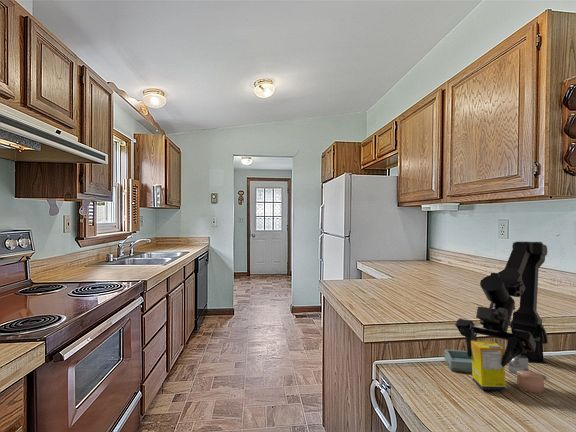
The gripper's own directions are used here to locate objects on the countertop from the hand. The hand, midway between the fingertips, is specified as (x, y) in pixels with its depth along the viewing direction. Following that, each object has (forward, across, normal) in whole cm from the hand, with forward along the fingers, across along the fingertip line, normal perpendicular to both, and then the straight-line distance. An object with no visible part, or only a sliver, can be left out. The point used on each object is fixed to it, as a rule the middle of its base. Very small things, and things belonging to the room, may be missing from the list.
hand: (485, 361), depth 90 cm
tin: (-8, +1, +19) cm, 21 cm away
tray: (-3, -11, +14) cm, 18 cm away
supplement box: (+4, 0, +6) cm, 7 cm away
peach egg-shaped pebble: (-2, +7, +13) cm, 15 cm away
